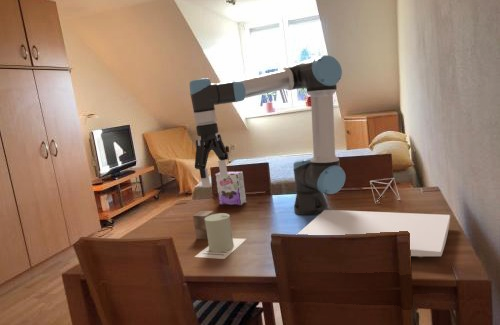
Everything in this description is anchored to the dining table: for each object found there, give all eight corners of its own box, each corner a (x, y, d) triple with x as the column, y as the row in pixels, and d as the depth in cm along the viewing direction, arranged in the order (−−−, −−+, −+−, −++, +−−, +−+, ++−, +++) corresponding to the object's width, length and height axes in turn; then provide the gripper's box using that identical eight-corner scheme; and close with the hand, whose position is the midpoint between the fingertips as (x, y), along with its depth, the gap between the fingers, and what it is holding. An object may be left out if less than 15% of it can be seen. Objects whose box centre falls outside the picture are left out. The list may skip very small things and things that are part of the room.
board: (292, 252, 131) (291, 238, 130) (325, 220, 158) (324, 209, 157) (441, 268, 107) (440, 251, 106) (450, 228, 134) (450, 214, 133)
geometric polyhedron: (402, 197, 175) (401, 177, 174) (397, 204, 166) (396, 183, 165) (374, 196, 182) (372, 177, 181) (368, 203, 173) (366, 183, 172)
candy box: (218, 204, 203) (214, 173, 201) (225, 201, 208) (221, 171, 206) (240, 205, 196) (236, 173, 194) (247, 202, 201) (242, 171, 198)
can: (231, 251, 136) (226, 218, 134) (205, 253, 137) (201, 220, 136) (236, 241, 145) (231, 210, 143) (212, 243, 146) (207, 212, 145)
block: (217, 234, 157) (213, 211, 155) (209, 240, 151) (206, 215, 150) (204, 234, 159) (200, 211, 158) (196, 240, 154) (192, 215, 152)
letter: (246, 239, 147) (246, 238, 147) (224, 259, 131) (224, 258, 131) (219, 238, 152) (218, 237, 152) (194, 257, 136) (194, 256, 136)
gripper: (214, 120, 150) (222, 174, 153) (177, 129, 128) (188, 191, 131) (231, 118, 147) (239, 173, 150) (196, 127, 125) (207, 191, 128)
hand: (215, 182), depth 141 cm, fingers open, 13 cm apart
